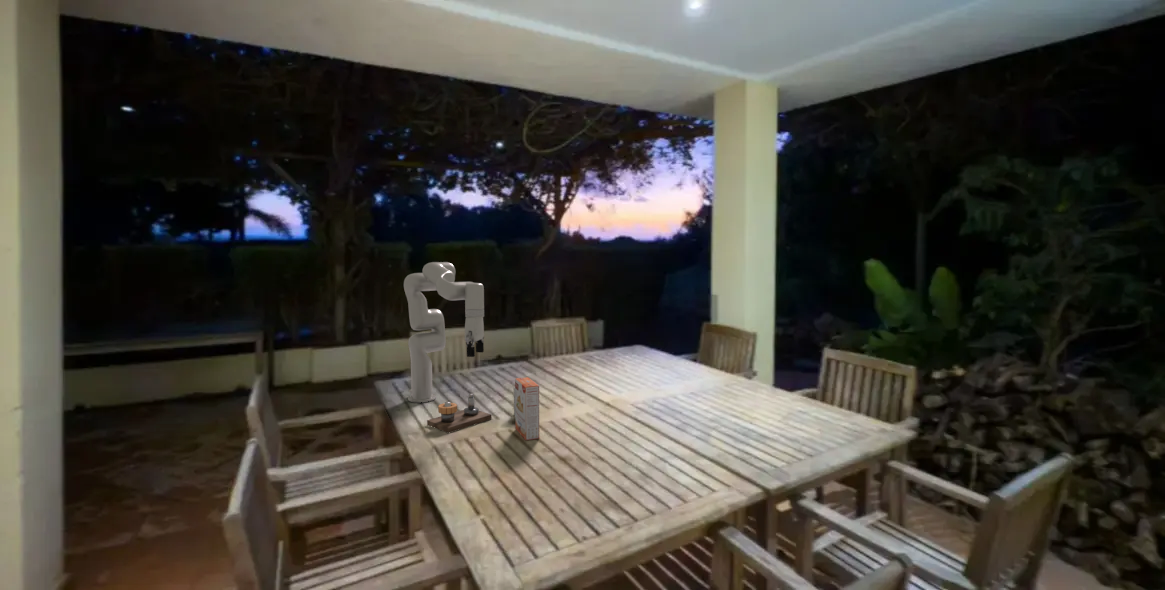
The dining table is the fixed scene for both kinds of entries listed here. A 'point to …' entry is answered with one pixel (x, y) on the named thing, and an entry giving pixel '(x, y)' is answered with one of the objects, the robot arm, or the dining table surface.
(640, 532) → the dining table surface
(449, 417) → the gray oval domed knob
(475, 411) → the hub
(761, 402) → the dining table surface
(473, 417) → the base board
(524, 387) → the cracker box
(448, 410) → the ring
